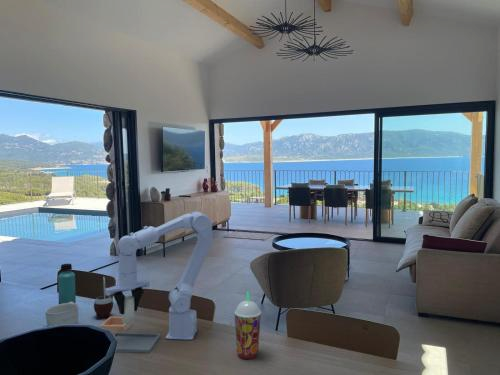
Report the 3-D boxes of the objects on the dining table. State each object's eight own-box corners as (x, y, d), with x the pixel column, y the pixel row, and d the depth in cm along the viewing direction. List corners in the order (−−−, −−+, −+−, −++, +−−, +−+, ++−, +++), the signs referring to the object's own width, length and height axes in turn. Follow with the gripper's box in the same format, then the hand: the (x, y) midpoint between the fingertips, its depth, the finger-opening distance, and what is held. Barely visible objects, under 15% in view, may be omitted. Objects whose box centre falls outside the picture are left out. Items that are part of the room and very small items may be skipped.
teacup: (65, 336, 133) (65, 313, 133) (38, 333, 135) (38, 311, 135) (89, 321, 147) (89, 300, 146) (65, 318, 149) (64, 298, 149)
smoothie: (235, 348, 124) (235, 287, 123) (260, 348, 124) (261, 288, 123) (233, 361, 116) (233, 296, 115) (260, 361, 116) (261, 296, 115)
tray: (160, 338, 132) (160, 333, 132) (149, 354, 120) (149, 349, 120) (115, 336, 133) (115, 332, 133) (99, 352, 121) (99, 348, 121)
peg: (136, 319, 130) (136, 296, 130) (131, 323, 126) (131, 299, 126) (125, 318, 130) (124, 295, 130) (120, 323, 126) (119, 299, 126)
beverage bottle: (79, 311, 156) (78, 263, 156) (64, 316, 151) (63, 266, 150) (70, 308, 160) (69, 261, 159) (54, 313, 154) (54, 264, 154)
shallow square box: (132, 325, 143) (132, 317, 143) (123, 334, 134) (123, 326, 134) (110, 324, 143) (110, 316, 143) (99, 334, 135) (99, 325, 135)
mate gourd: (102, 322, 145) (101, 283, 145) (88, 318, 149) (88, 280, 149) (117, 316, 152) (117, 279, 151) (104, 312, 156) (104, 276, 155)
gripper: (142, 266, 135) (143, 303, 136) (101, 273, 126) (102, 313, 126) (152, 270, 130) (152, 309, 131) (109, 277, 121) (110, 319, 121)
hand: (128, 311), depth 128 cm, fingers closed on peg, 4 cm apart
